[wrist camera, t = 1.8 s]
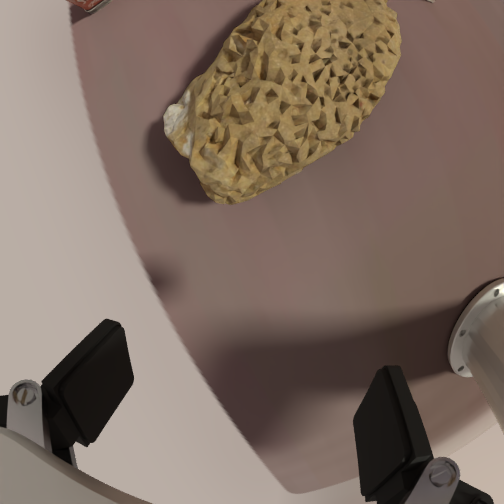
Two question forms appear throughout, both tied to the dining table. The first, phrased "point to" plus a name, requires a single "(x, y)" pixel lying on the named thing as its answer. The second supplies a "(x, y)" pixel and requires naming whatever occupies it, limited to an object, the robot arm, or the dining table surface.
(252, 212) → the dining table surface
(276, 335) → the dining table surface
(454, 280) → the dining table surface
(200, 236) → the dining table surface
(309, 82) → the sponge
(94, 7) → the lighter
